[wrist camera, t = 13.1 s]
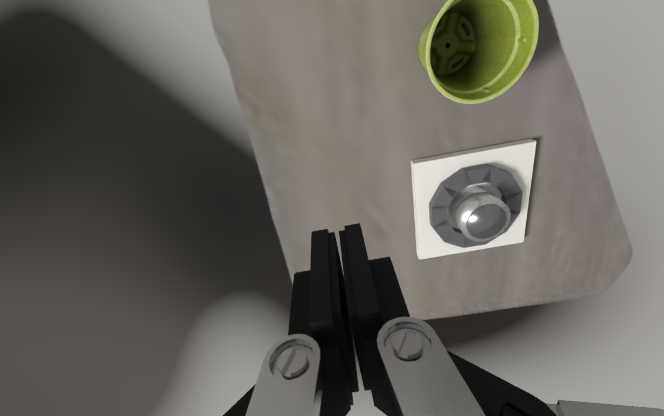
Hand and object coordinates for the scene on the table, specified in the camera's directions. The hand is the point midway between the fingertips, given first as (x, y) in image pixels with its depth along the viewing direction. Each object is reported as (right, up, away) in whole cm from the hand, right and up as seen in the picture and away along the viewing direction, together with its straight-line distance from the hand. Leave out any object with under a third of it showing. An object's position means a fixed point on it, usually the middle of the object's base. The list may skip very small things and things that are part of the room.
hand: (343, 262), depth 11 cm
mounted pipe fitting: (+18, +3, +32) cm, 37 cm away
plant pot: (+12, +20, +23) cm, 33 cm away
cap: (+18, +2, +31) cm, 36 cm away
